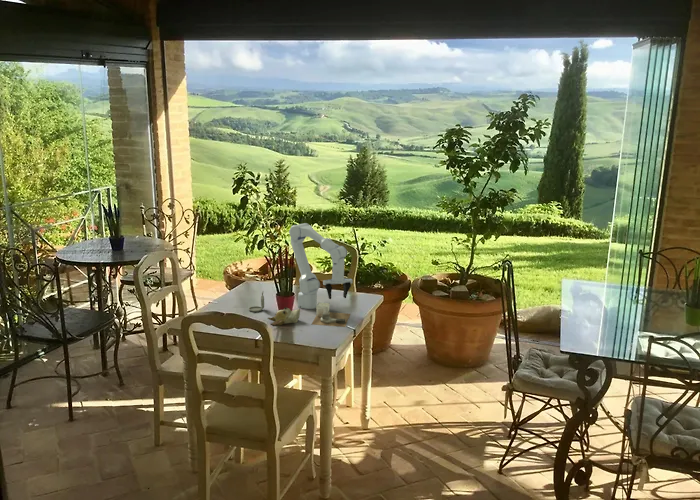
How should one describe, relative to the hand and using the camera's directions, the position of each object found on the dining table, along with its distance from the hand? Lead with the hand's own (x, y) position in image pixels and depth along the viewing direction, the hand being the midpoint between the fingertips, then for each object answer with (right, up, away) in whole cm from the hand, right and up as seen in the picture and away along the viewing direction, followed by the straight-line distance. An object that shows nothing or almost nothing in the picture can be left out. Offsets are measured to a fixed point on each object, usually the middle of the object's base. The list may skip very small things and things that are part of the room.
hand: (337, 298), depth 284 cm
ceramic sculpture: (-25, -12, -11) cm, 29 cm away
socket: (-7, -8, -1) cm, 11 cm away
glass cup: (-40, -7, +8) cm, 42 cm away
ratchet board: (-3, -11, -6) cm, 13 cm away
